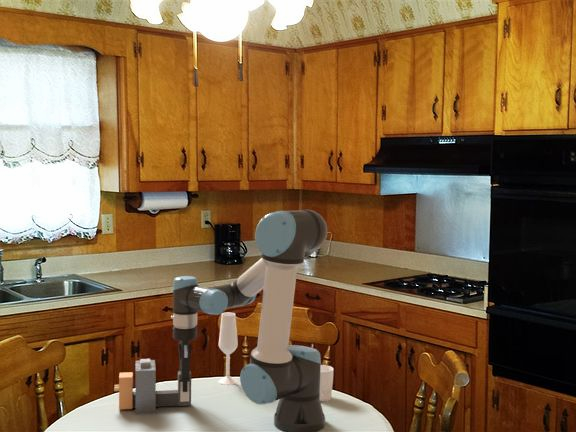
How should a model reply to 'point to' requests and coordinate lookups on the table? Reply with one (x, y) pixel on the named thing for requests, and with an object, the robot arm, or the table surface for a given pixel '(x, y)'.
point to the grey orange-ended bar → (162, 397)
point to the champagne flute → (228, 342)
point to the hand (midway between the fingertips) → (184, 398)
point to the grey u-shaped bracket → (145, 386)
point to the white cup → (326, 382)
